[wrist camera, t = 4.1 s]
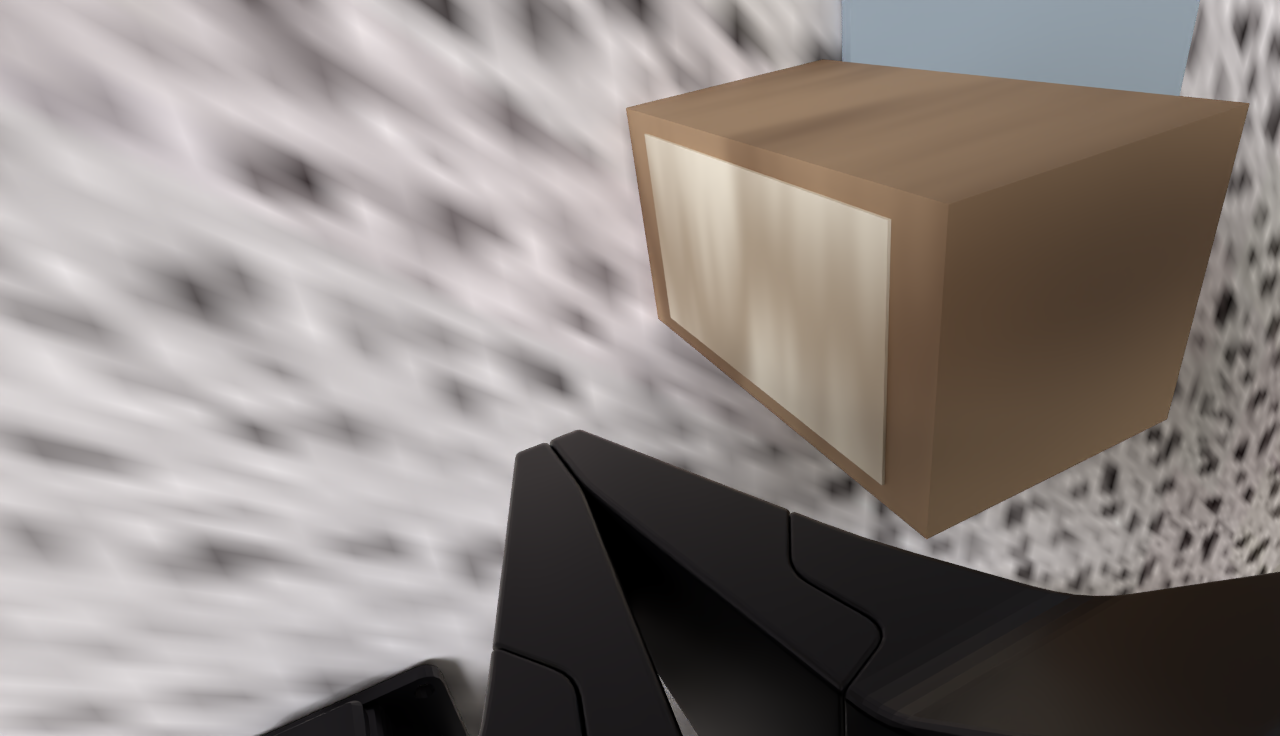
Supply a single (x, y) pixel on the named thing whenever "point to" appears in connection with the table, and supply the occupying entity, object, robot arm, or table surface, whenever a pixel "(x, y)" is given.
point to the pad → (1028, 39)
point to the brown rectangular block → (936, 263)
